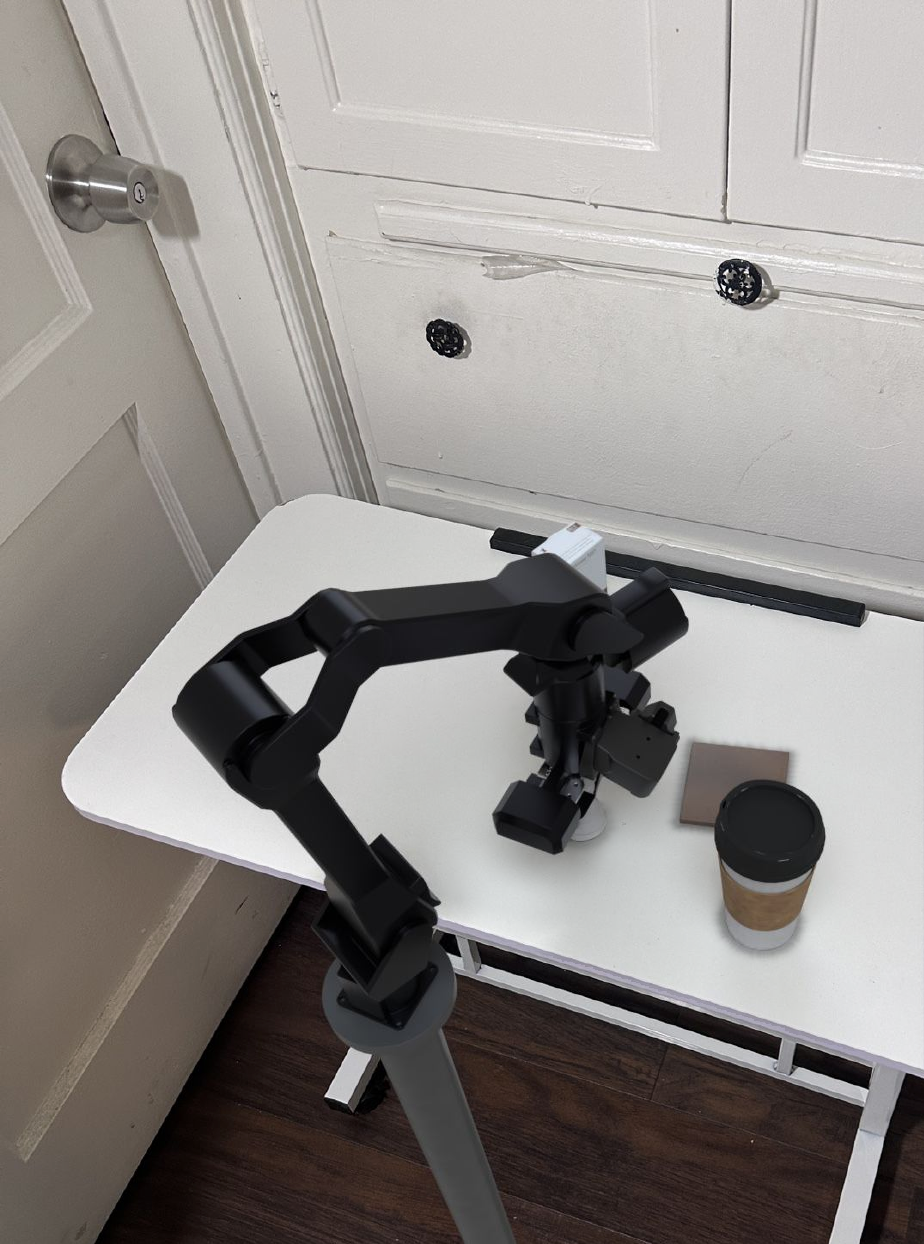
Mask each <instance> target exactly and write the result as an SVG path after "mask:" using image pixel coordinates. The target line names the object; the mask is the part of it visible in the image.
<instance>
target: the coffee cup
mask: <svg viewBox="0 0 924 1244" xmlns="http://www.w3.org/2000/svg"><path fill="white" fill-rule="evenodd" d="M713 829H714V831H713V832H714V833H713V835H714V839H713V840H714V844H715V848H716V849H715V850H716V851H717V856H718V857H717V858H718V866H719V873H720V880H721V881H720V883H721V889H722V897H723V902H724V912H725V913H724V914H725V922H726V927H727V929H728V931H729V933H730V935H731V936H732V938H733V939H735V940H736V941H737V942H738V943H739V944H740V945H743V946H744V947H746V948H749V949H751V950H757V951H769V950H773V949H777V948H780V947H781V946H783V945H784V944H786V943H787V942H788V941H789V940H790V939H791V938H792V936H793V935H794V932H795V930H796V929H797V925H798V922H799V918H800V916H801V915H800V914H801V911H802V909H803V906H804V903H805V900H806V897H807V894H808V891H809V890H810V889H809V888H810V885H811V882H812V880H813V876H814V873H815V871H816V868H817V863H818V862H819V861H820V859H821V857H822V855H823V852H824V849H825V844H826V838H827V835H826V827H825V824H824V821H823V816H822V812H821V810H820V808H819V807H818V805H817V803H816V802H815V801H814V799H812V798H811V797H810V796H809V795H808V794H807V793H805V791H803V790H801V789H799V788H797V787H796V786H793V785H792V784H789V783H787V782H786V783H783V782H779V781H775V780H766V779H760V780H751V781H746V782H744V783H742V784H739V785H738V786H736V787H735V788H733V789H732V790H731V791H730V792H729V793H728V794H727V795H726V796H725V798H724V799H723V800H722V801H721V803H720V808H719V813H718V815H717V817H716V821H715V825H714V827H713Z"/></svg>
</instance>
